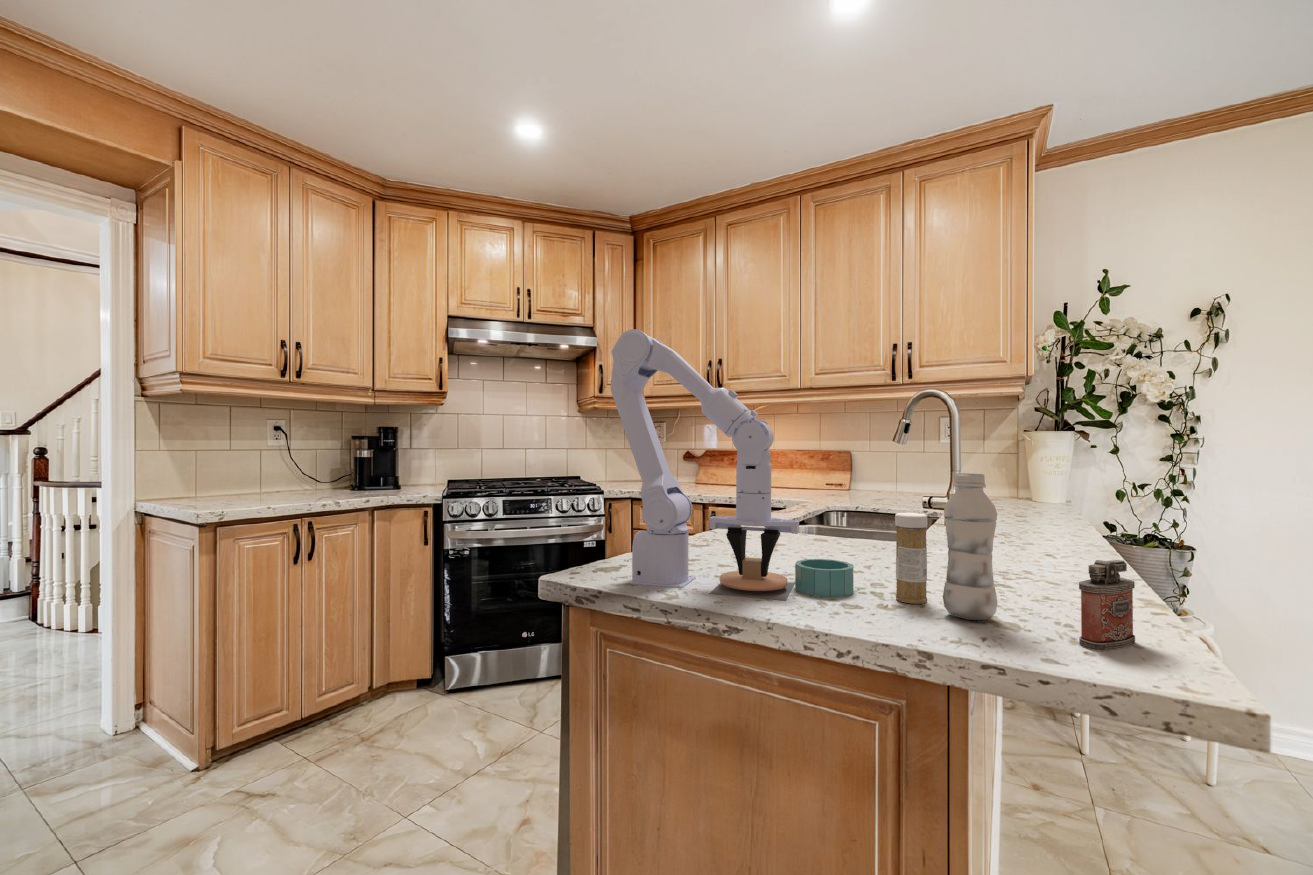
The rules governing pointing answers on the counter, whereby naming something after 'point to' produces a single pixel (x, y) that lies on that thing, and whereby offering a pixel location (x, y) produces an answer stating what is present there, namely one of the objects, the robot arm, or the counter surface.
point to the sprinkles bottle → (911, 557)
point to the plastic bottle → (970, 550)
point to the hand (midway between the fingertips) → (753, 574)
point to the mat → (755, 592)
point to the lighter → (1107, 607)
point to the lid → (753, 578)
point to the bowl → (824, 577)
